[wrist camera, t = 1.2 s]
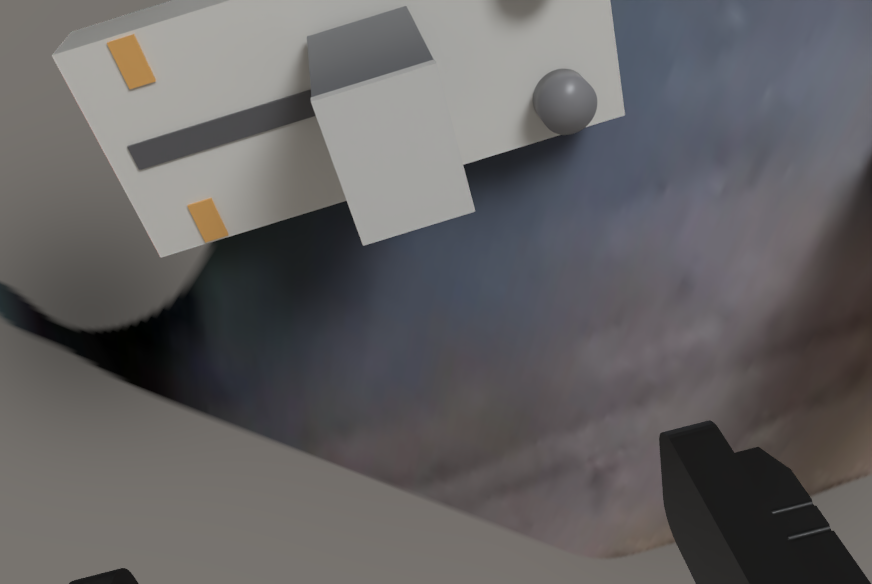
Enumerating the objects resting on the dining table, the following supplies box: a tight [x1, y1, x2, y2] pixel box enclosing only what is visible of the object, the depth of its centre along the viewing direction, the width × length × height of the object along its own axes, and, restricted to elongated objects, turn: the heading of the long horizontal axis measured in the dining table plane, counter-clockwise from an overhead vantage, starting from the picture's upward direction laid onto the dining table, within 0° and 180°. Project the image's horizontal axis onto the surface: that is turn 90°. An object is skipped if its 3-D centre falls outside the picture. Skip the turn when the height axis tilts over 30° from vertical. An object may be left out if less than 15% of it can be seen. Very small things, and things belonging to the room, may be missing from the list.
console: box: [52, 0, 625, 258], centre depth 25 cm, size 16×7×4 cm, turn 105°
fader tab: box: [307, 6, 475, 246], centre depth 22 cm, size 3×4×6 cm
